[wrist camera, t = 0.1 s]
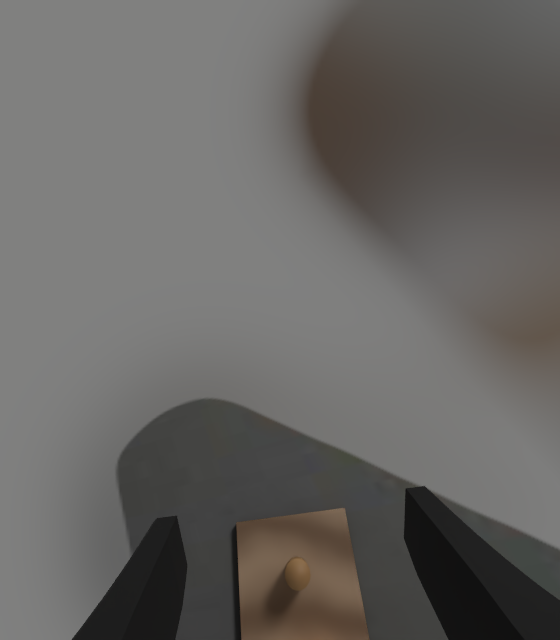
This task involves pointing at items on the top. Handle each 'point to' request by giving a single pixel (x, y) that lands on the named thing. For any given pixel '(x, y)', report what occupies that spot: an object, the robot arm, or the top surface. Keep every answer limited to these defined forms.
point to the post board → (320, 594)
